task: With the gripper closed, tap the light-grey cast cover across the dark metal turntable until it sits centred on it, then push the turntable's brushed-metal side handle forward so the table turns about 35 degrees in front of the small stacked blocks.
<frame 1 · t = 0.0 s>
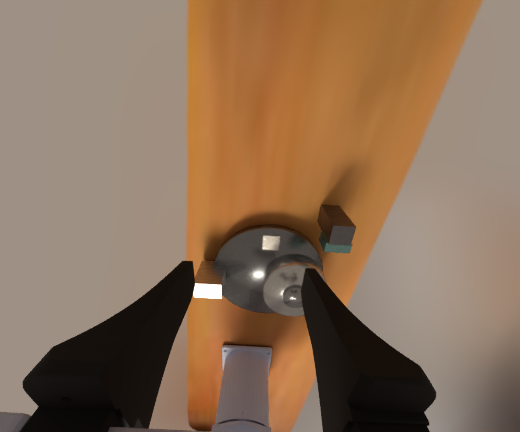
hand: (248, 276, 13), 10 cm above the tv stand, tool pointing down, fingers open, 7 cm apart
turntable: (261, 281, 24), point 2 cm above the tv stand, hinge at 0.0°, touching cover
stacked blocks: (328, 214, 22), on the tv stand
cover: (292, 277, 25), point 1 cm above the tv stand, touching turntable
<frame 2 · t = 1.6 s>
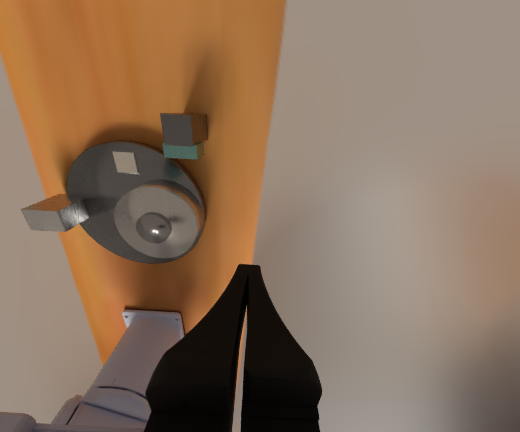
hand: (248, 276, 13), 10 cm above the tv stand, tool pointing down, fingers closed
turntable: (123, 215, 19), point 2 cm above the tv stand, hinge at 0.0°, touching cover
stacked blocks: (195, 126, 18), on the tv stand
cover: (168, 213, 20), point 1 cm above the tv stand, touching turntable
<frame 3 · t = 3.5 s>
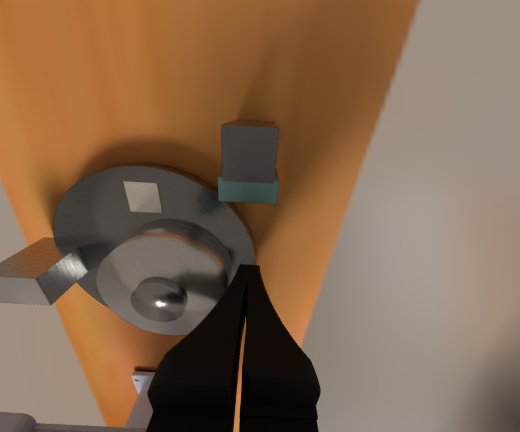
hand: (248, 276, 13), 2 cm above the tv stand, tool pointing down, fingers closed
turntable: (139, 273, 13), point 2 cm above the tv stand, hinge at 0.0°
stacked blocks: (254, 140, 11), on the tv stand
cover: (179, 264, 14), point 1 cm above the tv stand, touching gripper
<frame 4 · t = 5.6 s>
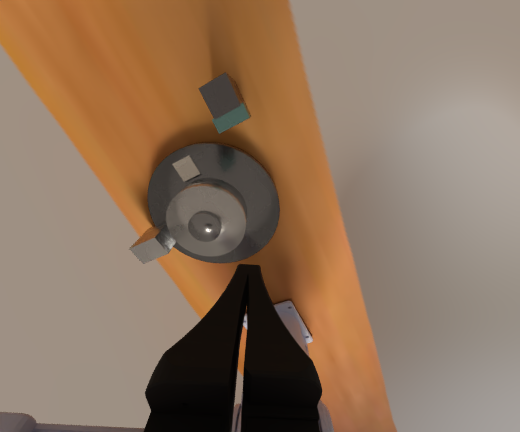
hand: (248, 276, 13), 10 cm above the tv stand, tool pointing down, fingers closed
turntable: (205, 219, 20), point 2 cm above the tv stand, hinge at 0.0°, touching cover
stacked blocks: (229, 99, 17), on the tv stand
cover: (212, 211, 21), point 1 cm above the tv stand, touching turntable
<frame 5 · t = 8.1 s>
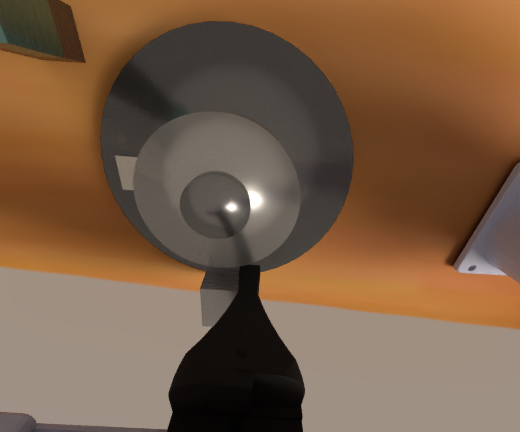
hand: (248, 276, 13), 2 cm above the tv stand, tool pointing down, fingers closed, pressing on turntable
turntable: (225, 201, 11), point 2 cm above the tv stand, hinge at -1.4°, touching cover, gripper
stacked blocks: (56, 34, 9), on the tv stand
cover: (227, 184, 11), point 1 cm above the tv stand, touching turntable
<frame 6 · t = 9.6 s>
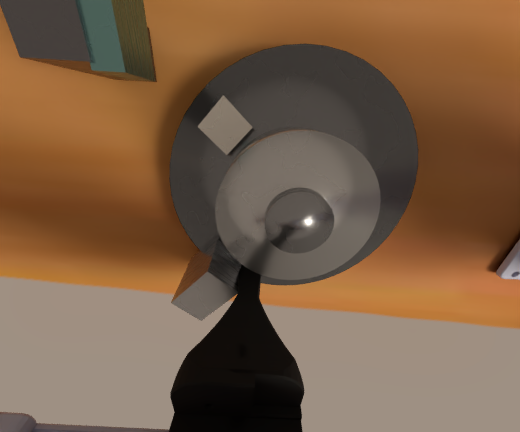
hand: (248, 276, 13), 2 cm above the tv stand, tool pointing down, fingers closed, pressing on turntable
turntable: (283, 212, 11), point 2 cm above the tv stand, hinge at -42.7°, touching cover, gripper
stacked blocks: (130, 54, 10), on the tv stand
cover: (288, 196, 11), point 1 cm above the tv stand, touching turntable
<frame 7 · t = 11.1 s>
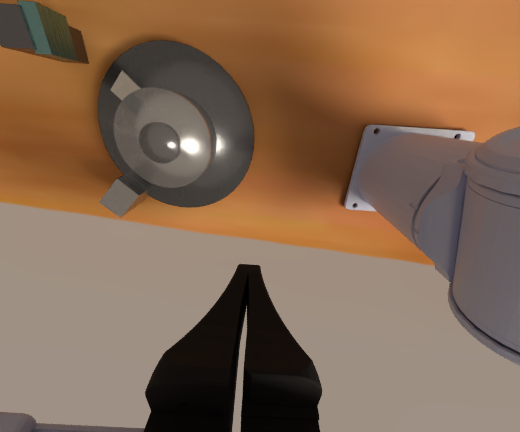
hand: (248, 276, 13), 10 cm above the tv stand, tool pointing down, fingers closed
turntable: (167, 145, 17), point 2 cm above the tv stand, hinge at -42.8°, touching cover
stacked blocks: (72, 47, 16), on the tv stand
cover: (175, 138, 18), point 1 cm above the tv stand, touching turntable
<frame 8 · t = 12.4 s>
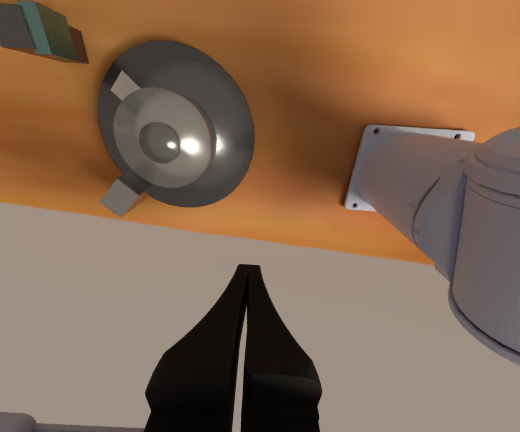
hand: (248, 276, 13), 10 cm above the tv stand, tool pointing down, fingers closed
turntable: (167, 145, 17), point 2 cm above the tv stand, hinge at -42.8°, touching cover
stacked blocks: (72, 47, 16), on the tv stand
cover: (175, 138, 18), point 1 cm above the tv stand, touching turntable
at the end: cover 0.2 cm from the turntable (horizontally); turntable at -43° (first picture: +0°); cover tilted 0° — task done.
